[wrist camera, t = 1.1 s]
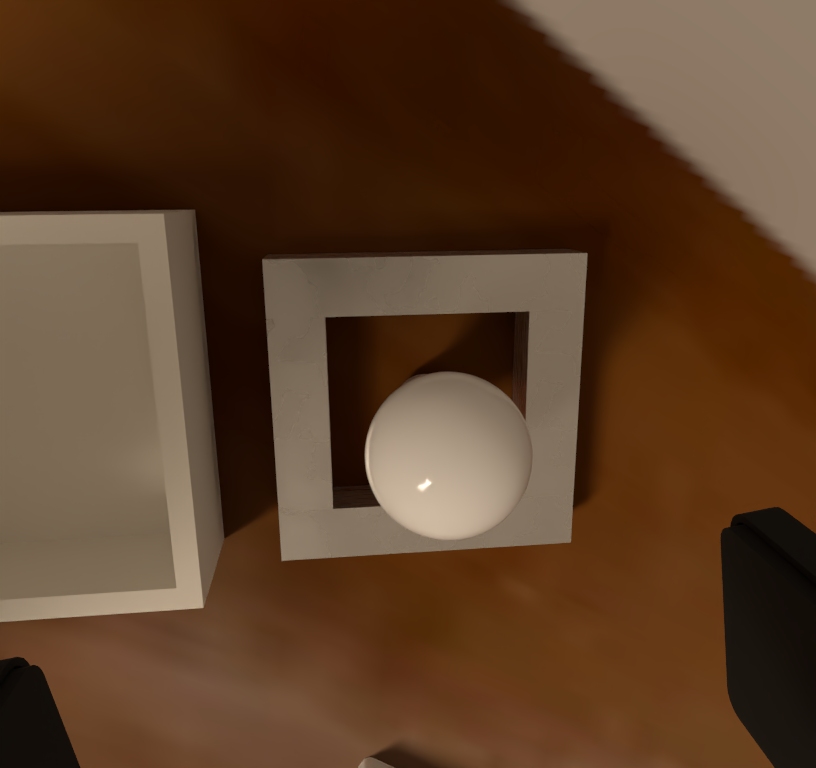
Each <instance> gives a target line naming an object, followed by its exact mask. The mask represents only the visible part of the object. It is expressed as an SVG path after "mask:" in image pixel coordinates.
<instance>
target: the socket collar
mask: <svg viewBox="0 0 816 768" xmlns="http://www.w3.org/2000/svg"><path fill="white" fill-rule="evenodd" d="M587 254H588V253H585V252H581V251H577V250H573V249H522V250H469V251H417V252H364V253H312V254H267V255H266V256H265V257H264V258H263V259H262V265H263V280H264V296H265V311H266V326H267V342H268V357H269V372H270V388H271V403H272V418H273V434H274V449H275V464H276V480H277V495H278V510H279V526H280V541H281V557H282V561H285V560H300V559H316V558H332V557H348V556H364V555H379V554H395V553H411V552H427V551H443V550H458V549H474V548H490V547H506V546H522V545H537V544H553V543H569V542H571V529H572V512H573V494H574V477H575V460H576V443H577V426H578V409H579V392H580V374H581V357H582V340H583V323H584V306H585V289H586V272H587ZM490 312H515V323H514V355H513V387H512V401H513V402H514V403H515V405H516V406H517V407H518V409H519V410H520V412H521V414H522V415H523V417H524V419H525V421H526V424H527V426H528V429H529V432H530V435H531V440H532V446H533V466H532V473H531V477H530V481H529V484H528V487H527V489H526V492H525V494H524V496H523V498H522V499H521V501H520V503H519V504H518V505H517V507H516V508H515V510H514V511H513V512H512V513H511V514H510V515H509V516H508V517H507V518H506V519H505V520H504V521H503V522H502V523H500V524H499V525H497V526H496V527H495V528H493V529H491V530H489V531H488V532H486V533H483V534H481V535H478V536H476V537H472V538H468V539H464V540H456V541H444V540H435V539H430V538H427V537H423V536H420V535H418V534H415V533H413V532H411V531H409V530H408V529H406V528H404V527H403V526H401V525H400V524H398V523H397V522H396V521H395V520H394V519H392V518H391V517H390V516H389V515H388V514H387V513H386V512H385V510H384V509H383V508H382V507H381V505H380V504H379V502H378V501H377V499H376V497H375V496H374V494H373V492H372V489H371V487H370V485H363V486H344V487H333V477H332V453H331V429H330V406H329V382H328V358H327V334H326V317H349V316H384V315H420V314H455V313H490Z"/></svg>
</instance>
